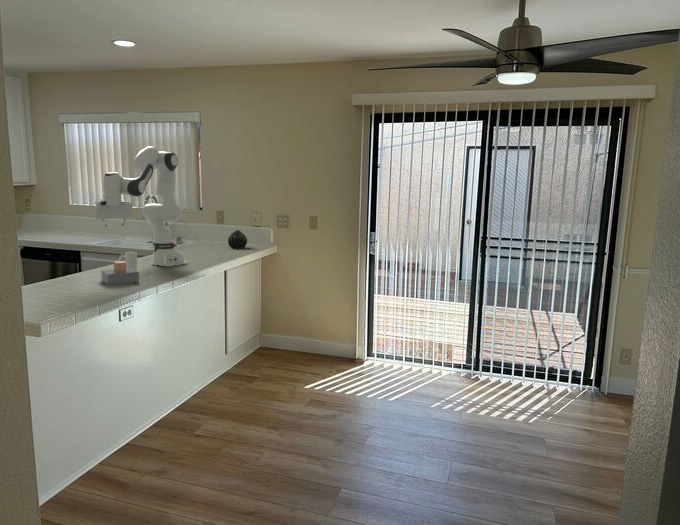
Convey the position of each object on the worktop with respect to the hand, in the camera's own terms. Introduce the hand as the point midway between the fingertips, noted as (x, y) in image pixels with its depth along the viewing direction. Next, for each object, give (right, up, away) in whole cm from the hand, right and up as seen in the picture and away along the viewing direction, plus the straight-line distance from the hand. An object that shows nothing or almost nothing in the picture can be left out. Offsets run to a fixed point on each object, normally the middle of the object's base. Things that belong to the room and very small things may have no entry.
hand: (114, 226), depth 292 cm
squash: (+45, -9, +123) cm, 131 cm away
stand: (+7, -31, -8) cm, 33 cm away
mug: (+2, -27, +16) cm, 31 cm away
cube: (+7, -25, -9) cm, 28 cm away
